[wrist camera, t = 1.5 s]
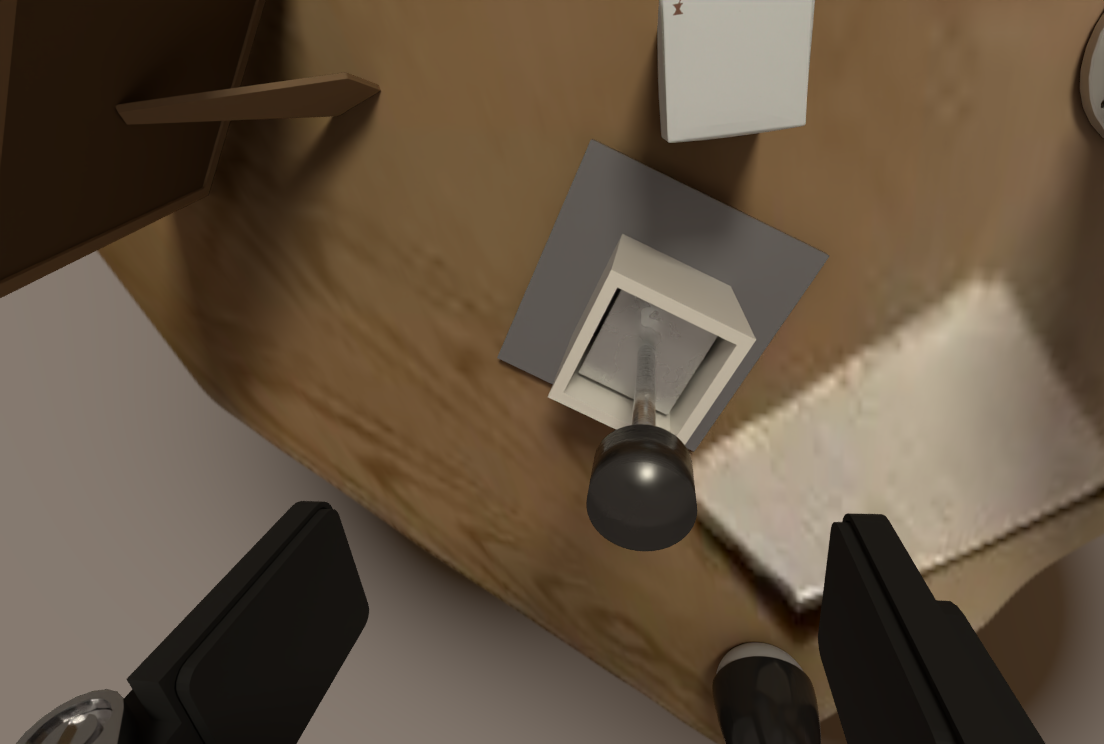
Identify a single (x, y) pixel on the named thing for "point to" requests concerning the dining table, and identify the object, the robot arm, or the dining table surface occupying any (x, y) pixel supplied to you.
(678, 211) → the grey square base
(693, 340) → the plunger
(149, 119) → the photo frame
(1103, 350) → the dining table surface
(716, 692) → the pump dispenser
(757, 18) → the supplement box
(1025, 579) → the dining table surface
